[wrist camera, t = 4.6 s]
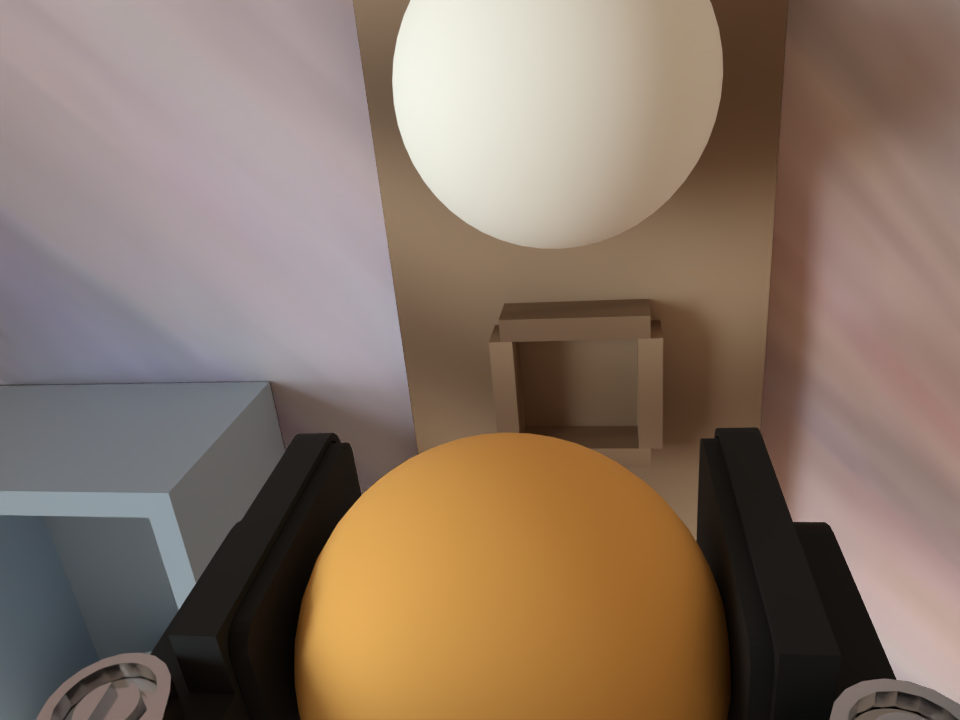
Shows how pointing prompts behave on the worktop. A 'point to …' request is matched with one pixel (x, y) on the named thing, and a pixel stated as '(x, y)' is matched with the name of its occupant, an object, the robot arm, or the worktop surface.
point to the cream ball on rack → (556, 110)
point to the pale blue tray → (115, 516)
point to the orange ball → (511, 595)
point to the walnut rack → (596, 287)
